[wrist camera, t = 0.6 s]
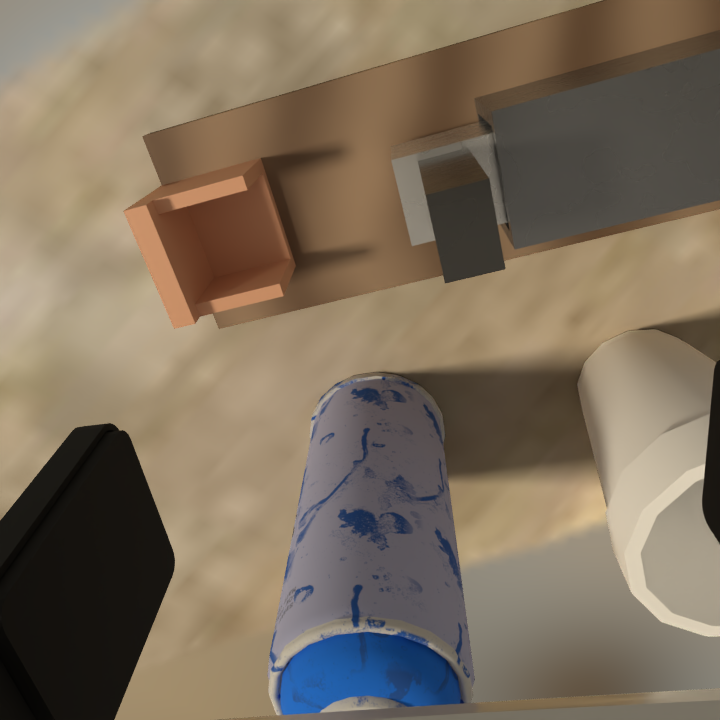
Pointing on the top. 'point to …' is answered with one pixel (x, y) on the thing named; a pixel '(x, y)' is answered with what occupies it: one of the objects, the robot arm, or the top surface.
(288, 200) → the track board
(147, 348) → the top surface
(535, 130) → the outer sleeve
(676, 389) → the foam cup
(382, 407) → the aerosol can
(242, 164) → the socket block
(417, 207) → the square sliding rod
